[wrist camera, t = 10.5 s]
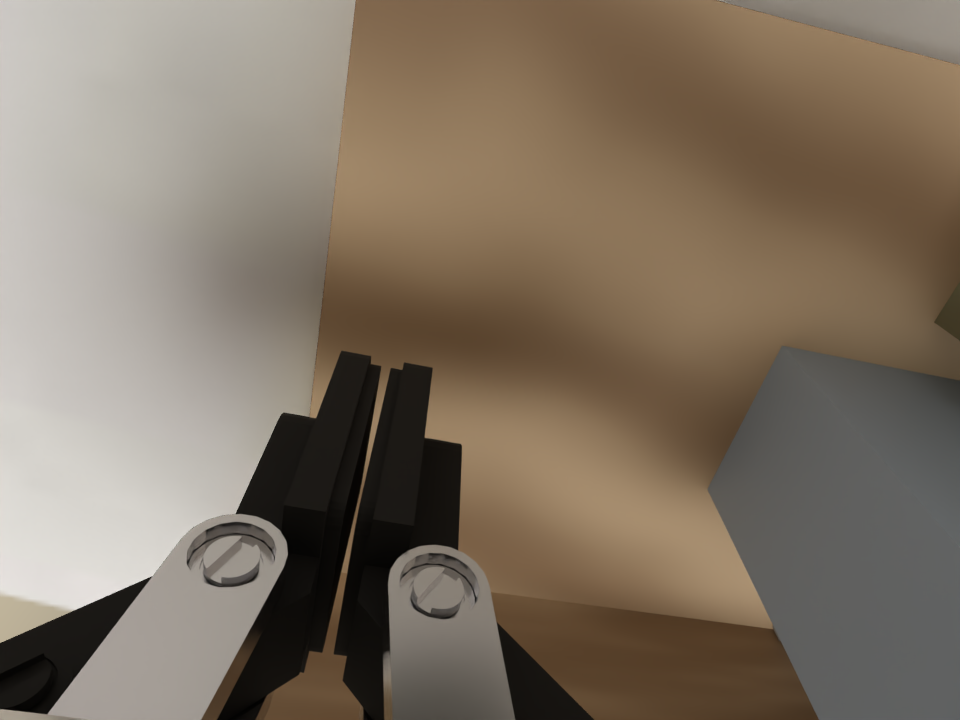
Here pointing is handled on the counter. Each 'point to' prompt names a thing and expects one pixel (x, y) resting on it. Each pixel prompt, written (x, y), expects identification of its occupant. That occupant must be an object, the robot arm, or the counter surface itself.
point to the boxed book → (853, 531)
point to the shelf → (626, 302)
